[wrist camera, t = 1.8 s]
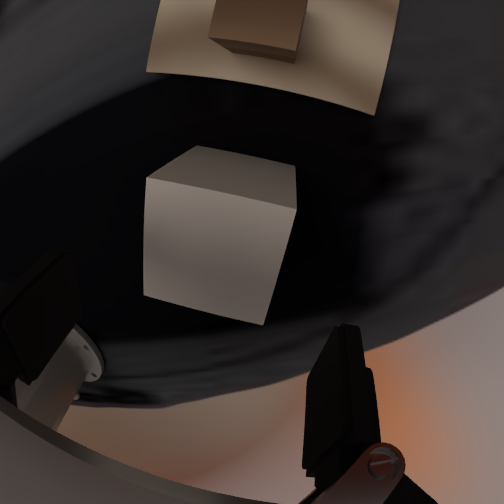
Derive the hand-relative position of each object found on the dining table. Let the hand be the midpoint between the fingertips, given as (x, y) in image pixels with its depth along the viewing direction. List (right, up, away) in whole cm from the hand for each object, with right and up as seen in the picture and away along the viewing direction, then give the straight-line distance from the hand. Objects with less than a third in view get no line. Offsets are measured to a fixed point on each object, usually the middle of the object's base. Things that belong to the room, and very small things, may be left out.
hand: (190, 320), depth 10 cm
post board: (+4, +19, +3) cm, 20 cm away
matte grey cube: (+1, +6, +11) cm, 13 cm away
